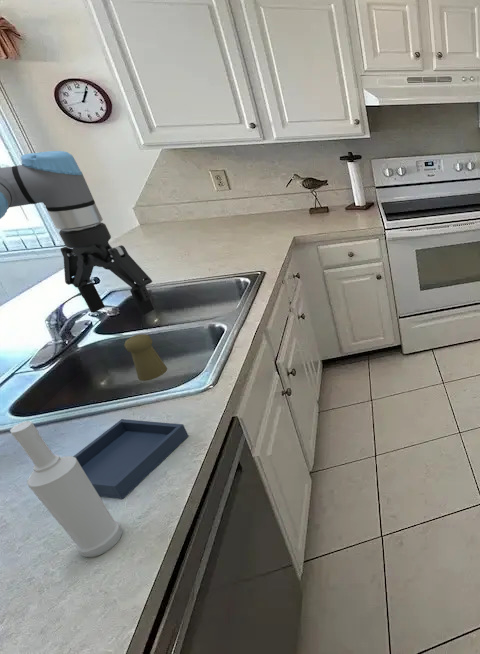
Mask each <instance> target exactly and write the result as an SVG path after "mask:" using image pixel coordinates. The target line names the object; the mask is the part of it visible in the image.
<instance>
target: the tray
mask: <svg viewBox="0 0 480 654" xmlns="http://www.w3.org/2000/svg"><path fill="white" fill-rule="evenodd" d="M188 437H189V433H188V431H187V430H186V427H185V425H184V424H183V423H172V422H171V423H169V422H161V421H160V422H159V421H147V420H139V419H138V420H137V419H136V420H135V419H125V418H121V419H119V420H118V421H117V422H115V423H114V424H113V425H112V426H110V427H109V428H108V429H107V430H106V431H103V433H101V434H100V435H99V436H97V438H95V439H94V440H92V441H91V442H90V443H88V444H87V445H86V446H85V447H83V448H82V449H81V450H79V451H78V452H77V453H75V454H74V455H73V457H75V458H76V459H77V461H78V462H79V464H80V466H81V467H82V469H83V470H84V472H85V474H86V475H87V477H88V479H89V480H90V482H91V483H92V485H93V487H94V488H95V490H96V492H97V493H98V495H99V497H103V498H111V499H119V500H123V499H124V498H125V497H127V496H128V494H130V493H131V492H132V491H133V490H134V489H135V488H136V487H137V486H138V485H140V483H141V482H142V481H143V480H144V479H145V478H146V477H147V476H148V475H150V474H151V473H152V472H153V471H154V470H155V469H156V468H157V467H158V466H159V465H161V463H162V462H163V461H165V459H166V458H167V457H169V455H170V454H172V453H173V452H174V451H175V450H176V449H177V448H178V447H179V446H180V445H181V444H182V443H183V442H184V441H185V440H186V439H187V438H188Z"/></svg>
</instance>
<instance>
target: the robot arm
mask: <svg viewBox="0 0 480 654" xmlns="http://www.w3.org/2000/svg"><path fill="white" fill-rule="evenodd" d="M20 160H21V164H18V165H13V166H5V167H3V166H2V167H0V220H1V219H3V217H4V216H5V215H6V213H7V212H8V210H9V208H14V207H15V208H16V207H21V206H22V207H23V206H27V205H36V204H41V203H42V204H43V205H44V206H45V209H46V210H47V214H48V215H49V217H50V219H51V221H52V223H53V225H54V228H56V230H57V229H58V230H59V232H58V234H59V236H60V238H61V240H62V242H63V244H64V245H65V246H63V247H60V252H61V255H62V257H63V271H64V272H63V273H64V283H65V284H66V285H68V286H69V285H73V287H75V288H77V289H78V291H79V293H80V295H81V297H82V298H83V300H84V301H85V304H86V305H87V307H88V309H89V311H90V313H92V314H93V313H96V312H98V311H100V310H102V309H104V308H106V306H105V304H104V301H103V300H102V298H101V296H100V294H99V292H98V290H97V288H96V285H95V284H94V283H93V282H92V280H91V276H92V274H93V270H94V267H97V268H103V269H104V270H108V271H110V272H111V273H112V274H114V275H115V276H117V278H119V279H120V280H122V281H123V282H124V283H125V284H126V285H128V287H130V290H129V291H130V294H131V295H132V296H131V297H132V298H133V300H134V303H135V304H136V307H137V308H138V311H139V313H140V315H141V316H146V315H147V314H148V313H150V312H152V311H154V310H155V308H154V306H153V303H152V301H151V296H150V293H149V291H148V288H147V286H148V285H150V284H152V283H153V280H152V278H151V277H150V276H149V275H148V274H147V273H146V272H145V271H144V269H142V267H141V266H140V265H138V263H137V262H136V261H135V259H133V258H132V257H131V255H130V254H129V253H128V251H127V249H126V248H125V246H124V245H118V246H115V247H112V246H111V245H110V243H109V242H110V240H111V238H112V236H111V233H110V231H109V229H108V227H107V225H106V223H104V222H103V219H104V218H103V217H102V214H101V213H100V211H99V208H98V206H97V204H96V202H95V200H94V199H95V198H94V197H93V195H92V192H91V190H90V187H89V185H88V183H87V181H86V178H85V177H84V174H83V171H81V168H80V167H79V165H78V163H77V161H76V159H75V157H74V156H73V155H72V154H71V153H69V152H68V151H64V150H50V151H40V152H31V153H24V154H22V155H21V156H20Z"/></svg>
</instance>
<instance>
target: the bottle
mask: <svg viewBox="0 0 480 654" xmlns="http://www.w3.org/2000/svg"><path fill="white" fill-rule="evenodd" d="M9 433H10V434H11V435H12V436H13V438H14V439H15V440H16V442H17V443H18V444H19V445H20V447H21V448H22V449H23V451H24V452H25V453H26V454H27V456H28V458H30V460H31V462H32V463H33V464H34V465H33V468H32V469H33V471H32V472H31V473H30V475H29V476H28V478H27V479H26V485H27V487H28V488H29V489H30V491H32V492H33V494H34V495H35V496H36V498H38V499H39V501H40V502H41V503H42V505H43V506H44V507H45V508H46V509H47V511H48V512H49V513H50V514H51V516H52V517H53V518H54V520H56V522H57V523H58V524H59V526H61V528H62V529H63V530H64V531H65V532H66V534H67V535H68V536H69V537H70V539H71V540H72V542H74V544H75V546H76V547H75V548H76V550H77V552H78V553H79V554H80V555H82V556H84V557H85V558H95V557H98V556H100V555H103V554H104V553H106V552H108V551H109V550H111V549H112V548H113V547H114V546H115V545H116V544H117V543H118V542H119V540H120V539H121V537H122V534H123V531H122V526H121V524H120V522H119V521H118V520H115V519H114V518H113V516H112V515H111V513H110V511H109V509H108V508H107V506H106V505H105V503H104V501H103V499H102V498H101V496H99V495H98V493H97V492H96V490H95V488H94V487H93V485H92V483H91V482H90V480H89V479H88V477H87V475H86V474H85V472H84V470H83V469H82V467H81V466H80V464H79V462H78V461H77V459H76V458H75V457H73V456H74V455H73V456H72V455H67V456H64V455H63V456H60V455H58V454H54V453H53V452H52V450H51V449H50V447H49V446H48V445H47V443H46V441H45V440H44V439H43V437H42V435H41V434H40V433H39V430H38V429H37V427H36V426H35V425H34V423H33V422H32V421H31V420H26V421H22V422H20V423H18V424H15V425H13V426H12V427H11V428H10V429H9Z"/></svg>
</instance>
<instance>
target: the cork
mask: <svg viewBox="0 0 480 654" xmlns="http://www.w3.org/2000/svg"><path fill="white" fill-rule="evenodd" d="M123 346H124V348H125V349H126V351H127V352H129V353H130V354H131V358H132V361H133V365H134V369H135V371H136V376H137V379H138V380H139V381H141V382H142V381H143V382H147V381H151V380H154V379H157V378H159V377H161V376H163V375H164V374H165V373H166V372H167V371H168V366H167V365H166V364H165V363H164V361H163V360H162V358H161V357H160V356H159V354H158V352H157V351H156V350H155V348H154V347H153V339H152V337H151V336H150V335H148V334H145V333H141V334H135V335H132V336H131V337H129V338H127V339H126V340H125V342H124V345H123Z"/></svg>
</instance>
